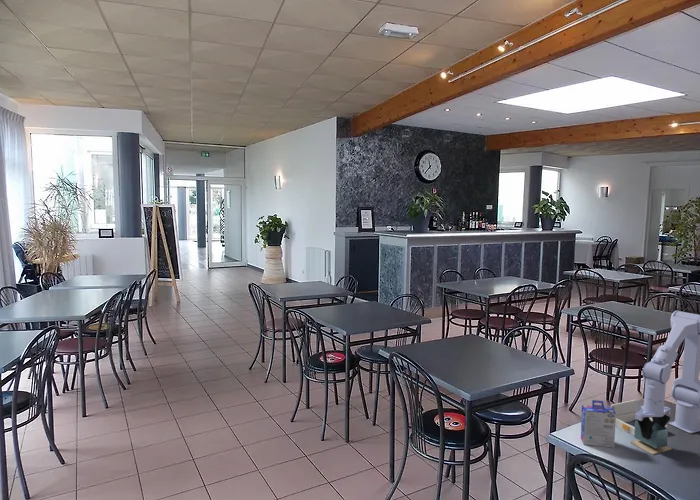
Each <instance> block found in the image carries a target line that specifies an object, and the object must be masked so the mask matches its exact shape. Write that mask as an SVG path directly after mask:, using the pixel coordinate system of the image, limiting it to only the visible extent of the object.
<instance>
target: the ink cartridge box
mask: <svg viewBox="0 0 700 500" xmlns="http://www.w3.org/2000/svg"><path fill="white" fill-rule="evenodd" d="M591 402H592V404H591V405H585V404H584V405H583V404H582V405H581V417H580V418H581V420H580V421H581V423H580V440H581V442H582V444H583V445H585V446H586V445H587V446H595V447H596V446H597V447H605V448H615V438H616V437H615V436H616V426H615V423H616V413H615V411H614V410H613V409H612V408H611V407H610V406H605V404H604V401H603V400H598V399H597V400H596V399H592V400H591ZM597 403H598V404H597Z"/></svg>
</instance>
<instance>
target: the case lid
mask: <svg viewBox="0 0 700 500" xmlns="http://www.w3.org/2000/svg"><path fill="white" fill-rule="evenodd" d="M637 402H638V401H637V399H632V400H627V401H623V402H622V401H621V402H616V403H612V404H610V406H609V407H611V408H612V409H613V410H614V411H615V413H616V416H620V415H624V414H629V413H633V412H637Z"/></svg>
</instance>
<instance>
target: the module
mask: <svg viewBox="0 0 700 500" xmlns="http://www.w3.org/2000/svg"><path fill="white" fill-rule="evenodd" d="M634 427H635V433H634V435H633V436H634V437H633V438H635V439H637V440H640V441H642V442H644V443H646V444H648V445H650V446H652V447H654V448H656V449H657V448H661V447H664V446H668V438H669V437H668V435H669V434H668V433H669V428H668V427H667V428H666V427H663V426H661V425H659V424H657V423H655V424H654V425H653V427H652V430H651V435H650V438H649V439H646V438H644V437H642V433H641V429H640V426H639V423H638V421H637V420H634Z"/></svg>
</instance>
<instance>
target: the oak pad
mask: <svg viewBox="0 0 700 500" xmlns="http://www.w3.org/2000/svg"><path fill="white" fill-rule="evenodd" d="M630 444H631V445H633V446H635V447H637V448H638V449H641V450H643V451H645V452H647V453H649V454H650V455H656V454H657V455H658V454H660V453H664V452H667V451H672V449H673V448H672V447H670V446H668V445H667V446H664V447H661V448H657V449H656V448H654V447H652V446H650V445H648V444H646V443H644V442H642V441H640V440H638V439H637V440H633V441H630Z"/></svg>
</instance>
